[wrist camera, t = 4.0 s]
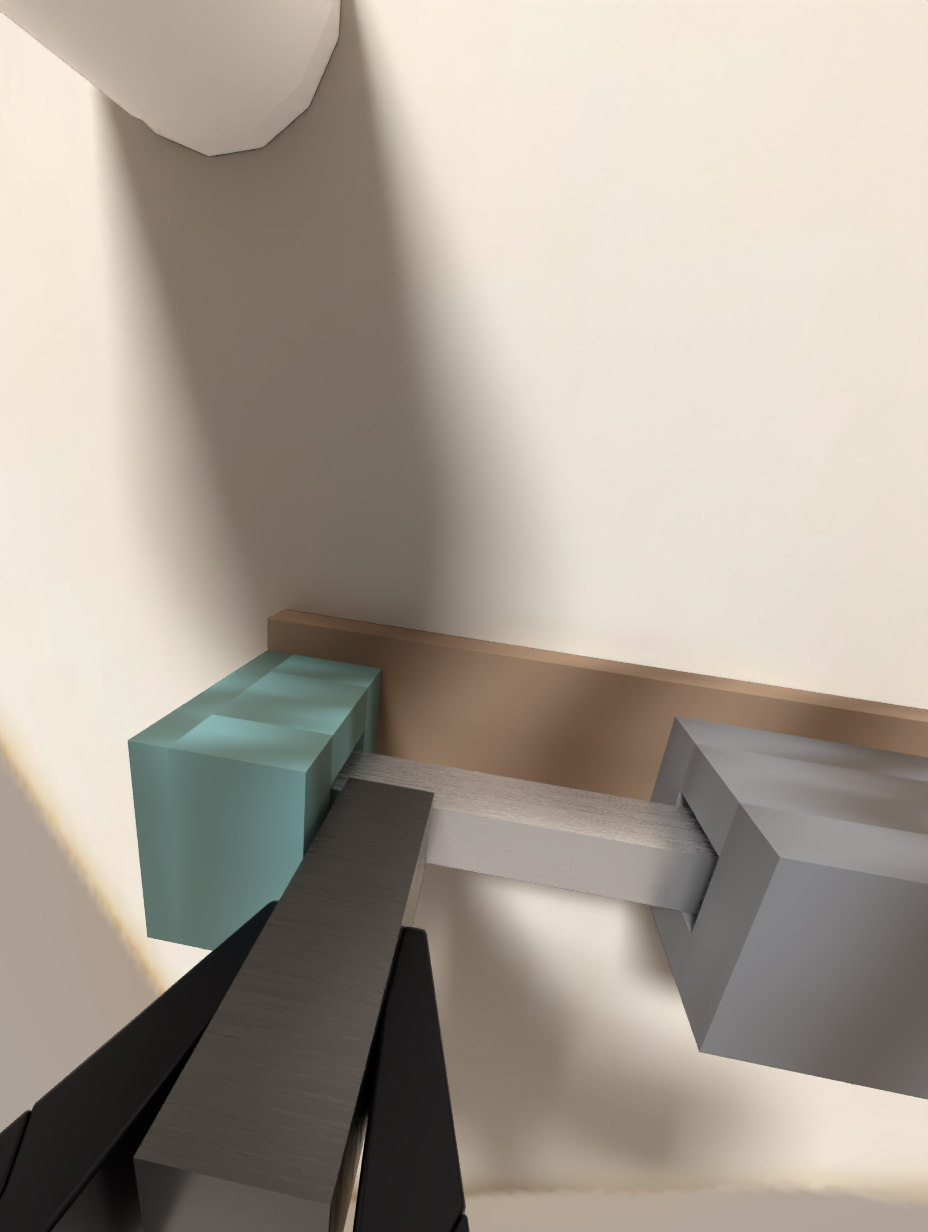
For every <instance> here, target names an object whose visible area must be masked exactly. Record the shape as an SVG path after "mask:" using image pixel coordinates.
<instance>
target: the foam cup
mask: <svg viewBox="0 0 928 1232" xmlns="http://www.w3.org/2000/svg"><path fill="white" fill-rule="evenodd" d="M340 5H341V0H0V12H1V13H3V14H4V15H5V16H7V17H8V18H9V19H10V20H12V21H13V22H14V23H15V24H17V25H18V26H19V27H20V28H22V29H23V30H24V31H25V32H27V33H28V34H29V35H31V36H32V37H33V38H34V39H36V40H37V41H38V42H39V43H41V44H42V45H43V46H44V47H46V48H47V49H48V50H50V51H51V52H52V53H53V54H55V55H56V56H57V57H58V58H60V59H61V60H62V61H63V62H65V63H66V64H67V65H69V66H70V67H71V68H72V69H74V70H75V71H76V72H77V73H79V74H80V75H81V76H82V77H84V78H85V79H86V80H88V81H89V82H90V83H91V84H93V85H94V86H95V87H96V88H98V89H99V90H100V91H101V92H103V93H104V94H105V95H107V96H108V97H109V98H110V99H112V100H113V101H114V102H115V103H117V104H118V105H119V106H120V107H122V108H123V109H124V110H126V111H127V112H128V113H129V114H131V115H132V116H134V117H136V118H139V119H141V120H143V121H144V122H145V123H146V124H147V125H148V126H149V127H150V128H151V129H152V130H153V131H154V132H155V133H156V134H158V135H161V136H163V137H165V138H168V139H170V140H172V141H175V142H177V143H179V144H182V145H184V146H186V147H189V148H191V149H193V150H195V151H198V152H200V153H202V154H205V155H207V156H213V155H219V154H226V153H232V152H238V151H244V150H250V149H256V148H262V147H264V146H265V145H266V144H267V143H268V142H270V141H271V140H272V139H273V138H274V137H275V136H276V135H277V134H279V133H280V132H281V131H282V130H283V129H284V128H285V127H286V126H288V125H289V124H290V123H291V122H292V121H293V120H294V119H296V118H297V117H298V116H299V115H300V114H301V113H302V112H303V111H305V110H306V109H307V108H308V107H309V105H310V103H311V101H312V98H313V96H314V94H315V91H316V89H317V87H318V85H319V82H320V80H321V78H322V75H323V73H324V71H325V68H326V66H327V64H328V61H329V59H330V57H331V54H332V52H333V50H334V47H335V45H336V43H337V41H338V38H339V22H340Z"/></svg>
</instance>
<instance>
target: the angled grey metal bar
mask: <svg viewBox="0 0 928 1232" xmlns="http://www.w3.org/2000/svg"><path fill="white" fill-rule="evenodd" d="M718 859H719V856H718V854H717V853H716V851H715V849H714V847H713V846H712V844H711V842H710V840H709V839H708V837H707V835H706V833H705V832H704V830H703V828H702V827H701V825H700V823H699V821H698V820H697V818H696V816H695V814H694V813H693V811H692V809H688V808H682V807H676V806H670V805H665V804H659V803H653V802H648V801H642V800H636V799H630V798H625V797H619V796H613V795H608V794H602V793H596V792H590V791H585V790H579V789H573V788H567V787H562V786H556V785H550V784H545V783H539V782H533V781H527V780H522V779H516V778H510V777H504V776H499V775H493V774H487V773H482V772H476V771H470V770H464V769H459V768H453V767H447V766H442V765H436V764H430V763H424V762H419V761H413V760H407V759H401V758H396V757H390V756H384V755H379V754H373V753H367V752H361V751H356V750H352V752H351V754H350V755H349V757H348V759H347V760H346V762H345V764H344V765H343V767H342V768H341V770H340V772H339V773H338V775H337V777H336V778H335V780H334V781H333V783H332V785H331V786H330V805H329V814H328V815H327V817H326V819H325V821H324V822H323V824H322V826H321V828H320V829H319V831H318V833H317V835H316V836H315V838H314V840H313V842H312V843H311V845H310V847H309V849H308V851H307V852H306V854H305V856H304V858H303V859H302V861H301V863H300V865H299V866H298V868H297V870H296V872H295V873H294V875H293V877H292V879H291V880H290V882H289V884H288V886H287V888H286V889H285V891H284V893H283V895H282V896H281V898H280V900H279V902H278V903H277V905H276V907H275V909H274V910H273V912H272V914H271V916H270V918H269V919H268V921H267V923H266V925H265V926H264V928H263V930H262V932H261V933H260V935H259V937H258V939H257V940H256V942H255V944H254V946H253V947H252V949H251V951H250V953H249V955H248V956H247V958H246V960H245V962H244V963H243V965H242V967H241V969H240V970H239V972H238V974H237V976H236V977H235V979H234V981H233V983H232V984H231V986H230V988H229V990H228V992H227V993H226V995H225V997H224V999H223V1000H222V1002H221V1004H220V1006H219V1007H218V1009H217V1011H216V1013H215V1014H214V1016H213V1018H212V1020H211V1021H210V1023H209V1025H208V1027H207V1029H206V1030H205V1032H204V1034H203V1036H202V1037H201V1039H200V1041H199V1043H198V1044H197V1046H196V1048H195V1050H194V1051H193V1053H192V1055H191V1057H190V1059H189V1060H188V1062H187V1064H186V1066H185V1067H184V1069H183V1071H182V1073H181V1074H180V1076H179V1078H178V1080H177V1081H176V1083H175V1085H174V1087H173V1088H172V1090H171V1092H170V1094H169V1096H168V1097H167V1099H166V1101H165V1103H164V1104H163V1106H162V1108H161V1110H160V1111H159V1113H158V1115H157V1117H156V1118H155V1120H154V1122H153V1124H152V1125H151V1127H150V1129H149V1131H148V1133H147V1134H146V1136H145V1138H144V1140H143V1141H142V1143H141V1145H140V1147H139V1148H138V1150H137V1152H136V1154H135V1155H134V1157H133V1159H134V1166H135V1174H136V1181H137V1188H138V1195H139V1202H140V1209H141V1217H142V1224H143V1231H144V1232H343V1230H344V1226H345V1221H346V1217H347V1212H348V1208H349V1204H350V1199H351V1195H352V1190H353V1186H354V1182H355V1177H356V1173H357V1168H358V1164H359V1160H360V1155H361V1151H362V1146H363V1142H364V1137H365V1133H366V1126H367V1118H368V1111H369V1103H370V1095H371V1088H372V1080H373V1072H374V1065H375V1057H376V1050H377V1042H378V1034H379V1027H380V1020H381V1015H382V1011H383V1007H384V1003H385V999H386V995H387V991H388V987H389V984H390V980H391V976H392V972H393V968H394V965H395V961H396V957H397V953H398V950H399V946H400V942H401V938H402V934H403V931H404V928H405V927H407V926H409V927H412V925H413V920H414V916H415V912H416V907H417V903H418V898H419V894H420V889H421V885H422V881H423V876H424V869H425V863H430V864H436V865H441V866H446V867H452V868H457V869H462V870H467V871H473V872H478V873H483V874H489V875H494V876H499V877H504V878H510V879H515V880H520V881H526V882H531V883H536V884H541V885H547V886H552V887H557V888H563V889H568V890H573V891H579V892H584V893H589V894H594V895H600V896H605V897H610V898H616V899H621V900H626V901H631V902H637V903H642V904H647V905H653V906H658V907H663V908H668V909H674V910H679V911H684V912H690V913H695V914H699V911H700V909H701V906H702V903H703V900H704V898H705V895H706V892H707V889H708V887H709V884H710V881H711V879H712V876H713V873H714V870H715V868H716V865H717V862H718Z"/></svg>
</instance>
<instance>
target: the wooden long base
mask: <svg viewBox="0 0 928 1232" xmlns="http://www.w3.org/2000/svg"><path fill="white" fill-rule="evenodd" d="M128 748H129V758H130V768H131V778H132V788H133V798H134V808H135V818H136V828H137V838H138V848H139V858H140V867H141V877H142V887H143V897H144V907H145V917H146V927H147V937H150V938H154V939H159V940H164V941H169V942H174V943H178V944H183V945H188V946H193V947H198V948H202V949H207V950H212V951H213V950H214V949H216V948H217V947H218V946H219V945H220V944H221V943H223V942H224V941H225V940H226V939H227V938H228V937H230V936H231V935H232V934H233V933H234V932H235V931H237V930H238V929H239V928H240V927H241V926H242V925H243V924H245V923H246V922H247V921H248V920H249V919H250V918H252V917H253V916H254V915H255V914H256V913H257V912H259V911H260V910H261V909H262V908H263V907H264V906H266V905H267V904H268V903H269V902H271V901H274V900H280V898H281V896H282V895H283V893H284V891H285V889H286V888H287V886H288V884H289V882H290V880H291V879H292V877H293V875H294V873H295V872H296V870H297V868H298V866H299V865H300V863H301V861H302V859H303V858H304V856H305V854H306V852H307V851H308V849H309V847H310V845H311V843H312V842H313V840H314V838H315V836H316V835H317V833H318V831H319V829H320V828H321V826H322V824H323V822H324V821H325V819H326V817H327V815H328V814H329V805H330V786H331V785H332V783H333V781H334V780H335V778H336V777H337V775H338V773H339V772H340V770H341V768H342V767H343V765H344V764H345V762H346V760H347V759H348V757H349V755H350V754H351V752H352V750H356V751H361V752H367V753H373V754H379V755H384V756H390V757H396V758H401V759H407V760H413V761H419V762H424V763H430V764H436V765H442V766H447V767H453V768H459V769H464V770H470V771H476V772H482V773H487V774H493V775H499V776H504V777H510V778H516V779H522V780H527V781H533V782H539V783H545V784H550V785H556V786H562V787H567V788H573V789H579V790H585V791H590V792H596V793H602V794H608V795H613V796H619V797H625V798H630V799H636V800H642V801H648V802H653V803H659V804H665V805H670V806H676V807H682V808H688V809H692V811H693V813H694V814H695V816H696V818H697V820H698V821H699V823H700V825H701V827H702V828H703V830H704V832H705V833H706V835H707V837H708V839H709V840H710V842H711V844H712V846H713V847H714V849H715V851H716V853H717V854H718V856H719V859H718V862H717V865H716V868H715V870H714V873H713V876H712V879H711V881H710V884H709V887H708V889H707V892H706V895H705V898H704V900H703V903H702V906H701V909H700V911H699V914H695V913H690V912H684V911H679V910H674V909H668V908H663V907H658V906H653V905H650V908H651V911H652V914H653V917H654V920H655V923H656V926H657V928H658V931H659V934H660V937H661V940H662V943H663V946H664V949H665V952H666V955H667V958H668V961H669V964H670V967H671V970H672V973H673V976H674V979H675V981H676V984H677V987H678V990H679V993H680V996H681V999H682V1002H683V1005H684V1008H685V1011H686V1014H687V1017H688V1020H689V1023H690V1026H691V1029H692V1032H693V1034H694V1037H695V1040H696V1043H697V1046H698V1049H699V1052H702V1053H707V1054H712V1055H717V1056H721V1057H726V1058H731V1059H736V1060H741V1061H745V1062H750V1063H755V1064H760V1065H765V1066H769V1067H774V1068H779V1069H784V1070H789V1071H793V1072H798V1073H803V1074H808V1075H813V1076H817V1077H822V1078H827V1079H832V1080H837V1081H842V1082H846V1083H851V1084H856V1085H861V1086H866V1087H870V1088H875V1089H880V1090H885V1091H890V1092H894V1093H899V1094H904V1095H909V1096H914V1097H918V1098H923V1099H928V710H925V709H919V708H912V707H906V706H899V705H893V704H887V703H880V702H874V701H867V700H861V699H854V698H848V697H842V696H835V695H829V694H822V693H816V692H810V691H803V690H797V689H790V688H784V687H777V686H771V685H765V684H758V683H752V682H745V681H739V680H733V679H726V678H720V677H713V676H707V675H700V674H694V673H688V672H681V671H675V670H668V669H662V668H656V667H649V666H643V665H636V664H630V663H623V662H617V661H611V660H604V659H598V658H591V657H585V656H579V655H572V654H566V653H559V652H553V651H547V650H540V649H534V648H527V647H521V646H514V645H508V644H502V643H495V642H489V641H482V640H476V639H470V638H463V637H457V636H450V635H444V634H437V633H431V632H425V631H418V630H412V629H405V628H399V627H393V626H386V625H380V624H373V623H367V622H360V621H354V620H348V619H341V618H335V617H328V616H322V615H316V614H309V613H303V612H296V611H290V610H283V611H281V612H279V613H277V614H275V615H274V616H272V617H270V618H268V650H267V651H266V652H264V653H263V654H261V655H259V656H258V657H256V658H255V659H253V660H252V661H250V662H249V663H247V664H246V665H244V666H242V667H241V668H239V669H238V670H236V671H235V672H233V673H232V674H230V675H228V676H227V677H225V678H224V679H222V680H221V681H219V682H218V683H216V684H215V685H213V686H211V687H210V688H208V689H207V690H205V691H204V692H202V693H201V694H199V695H198V696H196V697H194V698H193V699H191V700H190V701H188V702H187V703H185V704H184V705H182V706H180V707H179V708H177V709H176V710H174V711H173V712H171V713H170V714H168V715H167V716H165V717H163V718H162V719H160V720H159V721H157V722H156V723H154V724H153V725H151V726H149V727H148V728H146V729H145V730H143V731H142V732H140V733H139V734H137V735H136V736H134V737H132V738H131V739H129V740H128Z"/></svg>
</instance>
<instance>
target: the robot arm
mask: <svg viewBox="0 0 928 1232" xmlns="http://www.w3.org/2000/svg"><path fill="white" fill-rule="evenodd" d="M278 902H279V900H274V901H271V902H269V903H268V904H267V905H266V906H264V907H263V908H262V909H261V910H260V911H259V912H257V913H256V914H255V915H254V916H253V917H252V918H250V919H249V920H248V921H247V922H246V923H245V924H243V925H242V926H241V927H240V928H239V929H238V930H237V931H235V932H234V933H233V934H232V935H231V936H230V937H228V938H227V939H226V940H225V941H224V942H223V943H221V944H220V945H219V946H218V947H217V948H216V949H214V950H213V951H212V952H211V953H210V954H209V955H207V956H206V957H205V958H204V959H203V960H202V961H200V962H199V963H198V964H197V965H196V966H195V967H193V968H192V969H191V970H190V971H189V972H188V973H186V974H185V975H184V976H183V977H182V978H181V979H179V980H178V981H177V982H176V983H175V984H174V985H172V986H171V987H170V988H169V989H168V990H167V991H165V992H164V993H163V994H162V995H161V996H160V997H158V998H157V999H156V1000H155V1001H154V1002H153V1003H152V1004H150V1005H149V1006H148V1007H147V1008H146V1009H145V1010H143V1011H142V1012H141V1013H140V1014H139V1015H138V1016H136V1017H135V1018H134V1019H133V1020H132V1021H131V1022H129V1023H128V1024H127V1025H126V1026H125V1027H124V1028H122V1029H121V1030H120V1031H119V1032H118V1033H117V1034H115V1035H114V1036H113V1037H112V1038H111V1039H110V1040H109V1041H107V1042H106V1043H105V1044H104V1045H103V1046H101V1048H99V1049H98V1050H97V1051H96V1052H95V1053H93V1054H92V1055H91V1056H90V1057H89V1058H87V1060H85V1061H84V1062H83V1063H82V1064H81V1065H79V1066H78V1067H77V1068H76V1069H75V1070H73V1071H72V1072H71V1073H70V1074H69V1075H68V1076H66V1078H64V1079H63V1080H62V1081H61V1082H60V1083H58V1084H57V1085H56V1086H55V1087H54V1088H53V1089H51V1090H50V1091H49V1092H48V1093H47V1094H46V1095H44V1096H43V1097H42V1098H41V1099H40V1100H39V1101H38V1102H36V1103H35V1105H34V1107H33V1109H32V1111H31V1110H27V1111H25V1112H24V1113H23V1114H22V1115H21V1116H20V1117H18V1118H17V1119H16V1120H15V1121H14V1122H13V1123H11V1124H10V1125H9V1126H8V1127H7V1128H6V1129H4V1130H3V1131H2V1132H1V1133H0V1232H144V1231H143V1224H142V1217H141V1209H140V1202H139V1195H138V1188H137V1181H136V1174H135V1166H134V1159H133V1157H134V1155H135V1154H136V1152H137V1150H138V1148H139V1147H140V1145H141V1143H142V1141H143V1140H144V1138H145V1136H146V1134H147V1133H148V1131H149V1129H150V1127H151V1125H152V1124H153V1122H154V1120H155V1118H156V1117H157V1115H158V1113H159V1111H160V1110H161V1108H162V1106H163V1104H164V1103H165V1101H166V1099H167V1097H168V1096H169V1094H170V1092H171V1090H172V1088H173V1087H174V1085H175V1083H176V1081H177V1080H178V1078H179V1076H180V1074H181V1073H182V1071H183V1069H184V1067H185V1066H186V1064H187V1062H188V1060H189V1059H190V1057H191V1055H192V1053H193V1051H194V1050H195V1048H196V1046H197V1044H198V1043H199V1041H200V1039H201V1037H202V1036H203V1034H204V1032H205V1030H206V1029H207V1027H208V1025H209V1023H210V1021H211V1020H212V1018H213V1016H214V1014H215V1013H216V1011H217V1009H218V1007H219V1006H220V1004H221V1002H222V1000H223V999H224V997H225V995H226V993H227V992H228V990H229V988H230V986H231V984H232V983H233V981H234V979H235V977H236V976H237V974H238V972H239V970H240V969H241V967H242V965H243V963H244V962H245V960H246V958H247V956H248V955H249V953H250V951H251V949H252V947H253V946H254V944H255V942H256V940H257V939H258V937H259V935H260V933H261V932H262V930H263V928H264V926H265V925H266V923H267V921H268V919H269V918H270V916H271V914H272V912H273V910H274V909H275V907H276V905H277V903H278ZM465 1208H466V1205H465V1198H464V1191H463V1184H462V1177H461V1170H460V1163H459V1156H458V1149H457V1142H456V1135H455V1128H454V1121H453V1114H452V1107H451V1100H450V1093H449V1086H448V1079H447V1072H446V1065H445V1058H444V1051H443V1044H442V1037H441V1030H440V1023H439V1016H438V1009H437V1002H436V995H435V988H434V981H433V974H432V967H431V960H430V953H429V946H428V939H427V934H426V931H425V930H423V929H419V928H414V927H409V926H407V927H405V928H404V931H403V934H402V938H401V942H400V946H399V950H398V953H397V957H396V961H395V965H394V968H393V972H392V976H391V980H390V984H389V987H388V991H387V995H386V999H385V1003H384V1007H383V1011H382V1015H381V1020H380V1027H379V1034H378V1042H377V1050H376V1057H375V1065H374V1072H373V1080H372V1088H371V1095H370V1103H369V1111H368V1118H367V1126H366V1134H365V1141H364V1149H363V1156H362V1164H361V1172H360V1179H359V1187H358V1195H357V1202H356V1210H355V1218H354V1225H353V1232H469V1225H468V1218H467V1216H466V1215H465V1214H464V1213H465Z"/></svg>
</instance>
